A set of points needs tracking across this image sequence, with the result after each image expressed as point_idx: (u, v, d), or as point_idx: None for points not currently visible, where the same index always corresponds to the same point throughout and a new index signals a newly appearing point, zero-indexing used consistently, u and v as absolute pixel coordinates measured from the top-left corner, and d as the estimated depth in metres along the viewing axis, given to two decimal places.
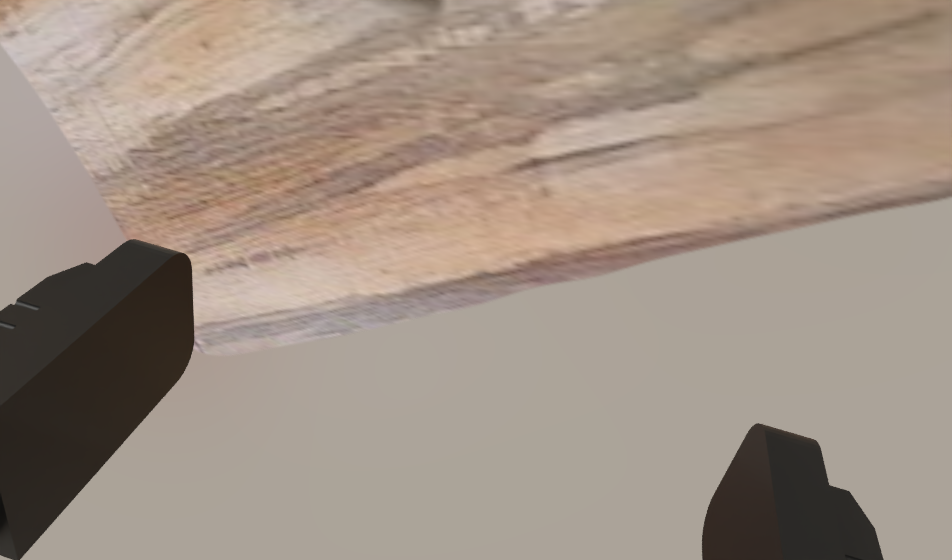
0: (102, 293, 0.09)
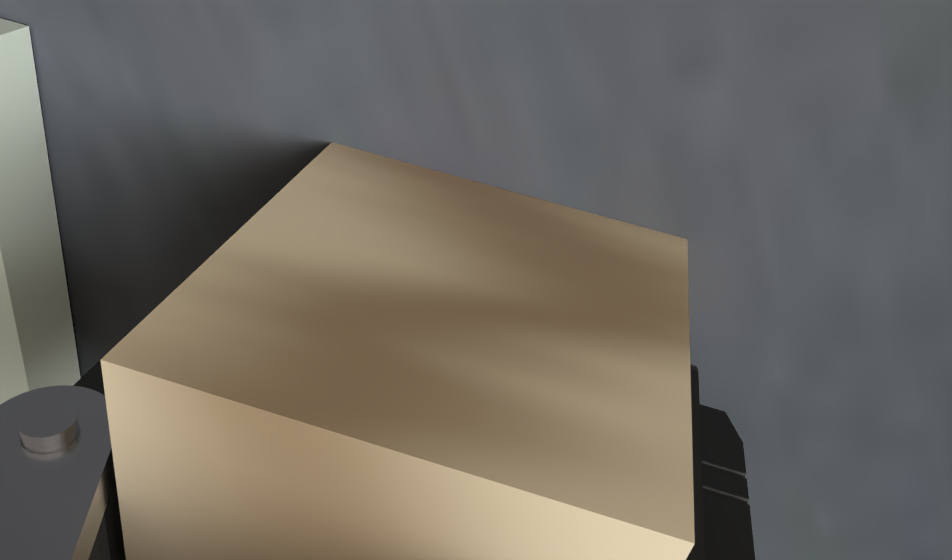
0: None
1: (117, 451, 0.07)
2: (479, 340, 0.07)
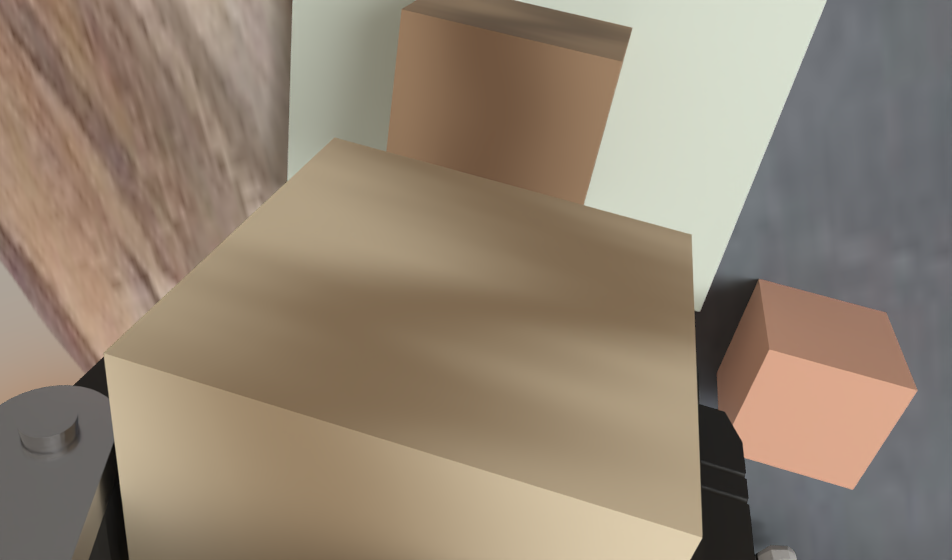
0: None
1: (121, 445, 0.07)
2: (483, 334, 0.07)
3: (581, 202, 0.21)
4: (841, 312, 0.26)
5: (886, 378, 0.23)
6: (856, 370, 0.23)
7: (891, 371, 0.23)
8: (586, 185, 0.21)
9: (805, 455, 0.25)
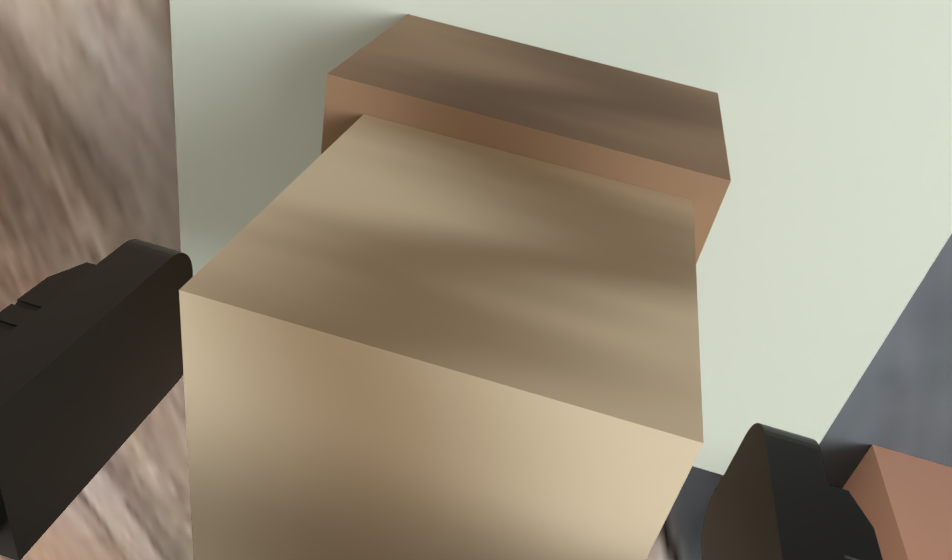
0: (103, 293, 0.09)
1: (187, 378, 0.08)
2: (507, 280, 0.08)
3: None
4: None
5: None
6: None
7: None
8: None
9: None
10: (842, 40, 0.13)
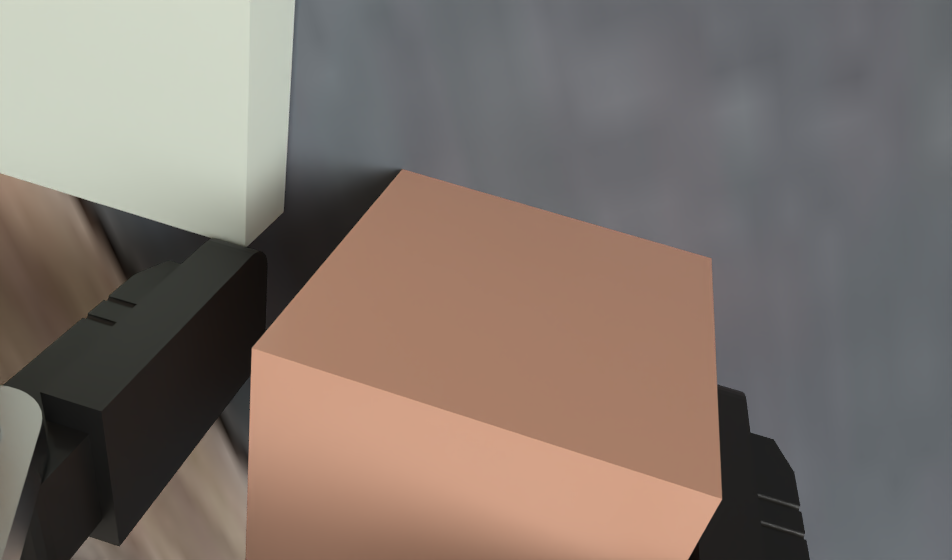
0: (193, 289, 0.09)
1: None
2: None
3: None
4: (584, 251, 0.10)
5: (627, 452, 0.07)
6: (530, 423, 0.07)
7: (654, 426, 0.07)
8: None
9: None
10: None
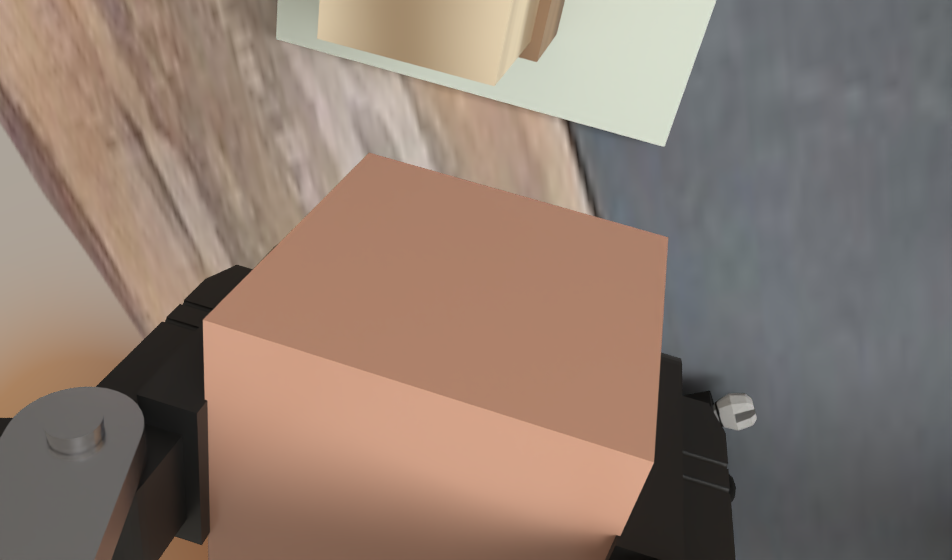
0: None
1: None
2: None
3: (549, 2, 0.23)
4: (541, 232, 0.10)
5: (565, 419, 0.07)
6: (470, 392, 0.07)
7: (593, 395, 0.07)
8: None
9: None
10: None
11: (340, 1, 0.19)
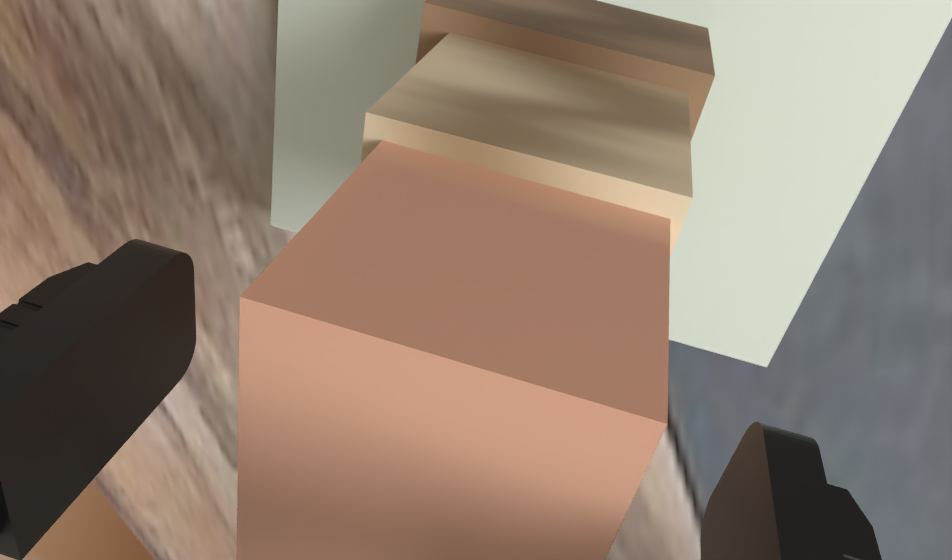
0: (104, 293, 0.09)
1: None
2: (565, 121, 0.12)
3: None
4: (550, 215, 0.10)
5: (583, 385, 0.08)
6: (494, 362, 0.08)
7: (608, 363, 0.08)
8: None
9: None
10: None
11: None
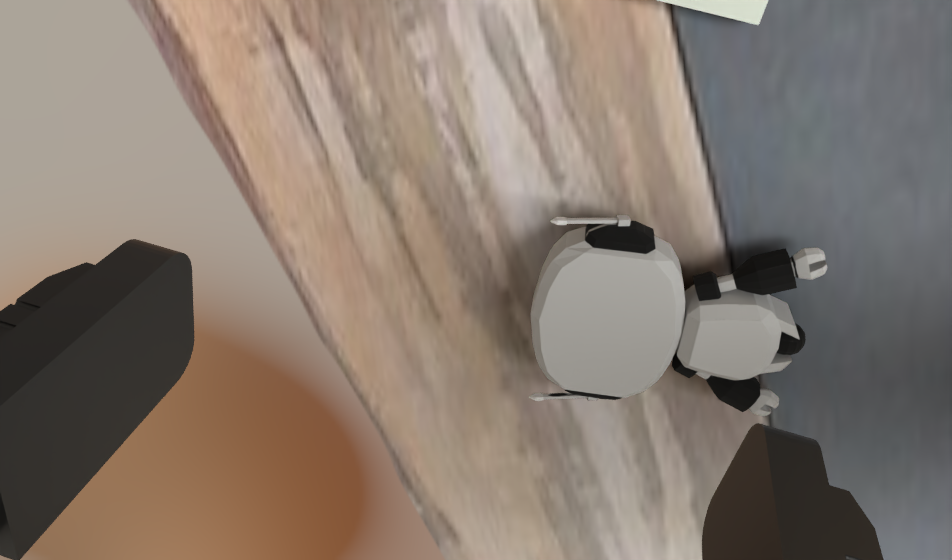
0: (102, 293, 0.09)
1: None
2: None
3: None
4: None
5: None
6: None
7: None
8: None
9: None
10: None
11: None
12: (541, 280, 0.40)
